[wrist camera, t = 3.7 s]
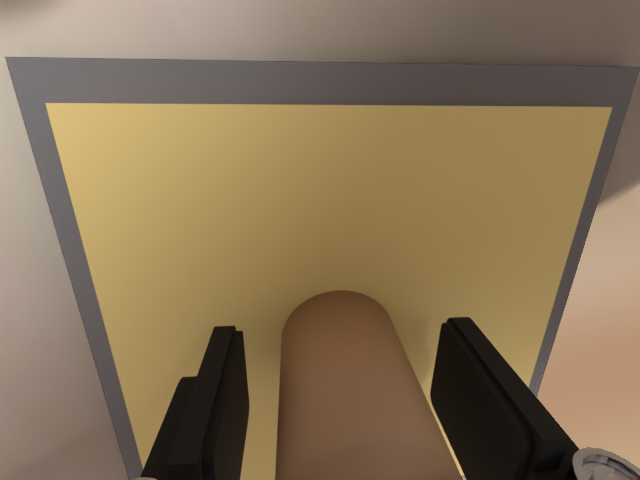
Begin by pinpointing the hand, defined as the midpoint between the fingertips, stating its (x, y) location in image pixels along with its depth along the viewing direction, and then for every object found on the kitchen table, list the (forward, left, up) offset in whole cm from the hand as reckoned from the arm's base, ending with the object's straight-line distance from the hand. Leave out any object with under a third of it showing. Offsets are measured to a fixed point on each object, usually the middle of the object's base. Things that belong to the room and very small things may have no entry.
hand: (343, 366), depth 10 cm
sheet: (0, 0, -2) cm, 2 cm away
